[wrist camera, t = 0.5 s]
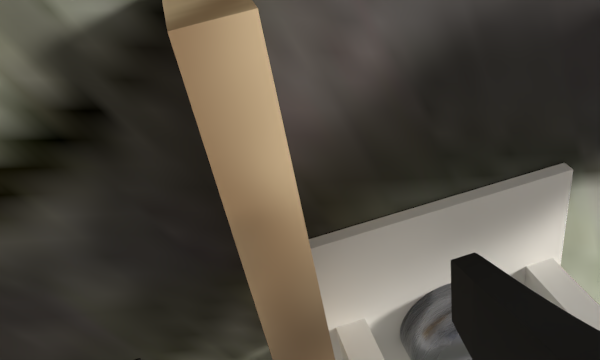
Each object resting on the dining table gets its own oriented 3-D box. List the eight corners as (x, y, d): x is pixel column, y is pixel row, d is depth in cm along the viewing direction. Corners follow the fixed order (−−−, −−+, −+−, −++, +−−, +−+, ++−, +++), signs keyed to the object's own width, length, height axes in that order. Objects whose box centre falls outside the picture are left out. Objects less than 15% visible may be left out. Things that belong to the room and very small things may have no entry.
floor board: (564, 162, 24) (573, 169, 24) (536, 393, 34) (542, 401, 33) (304, 240, 23) (308, 249, 22) (351, 458, 32) (354, 468, 32)
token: (495, 268, 26) (525, 304, 24) (492, 338, 29) (518, 375, 27) (396, 300, 25) (418, 339, 23) (403, 368, 28) (423, 408, 26)
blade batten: (230, -31, 17) (257, 8, 13) (313, 319, 26) (344, 401, 22) (159, -13, 17) (167, 31, 13) (268, 333, 26) (292, 419, 22)
